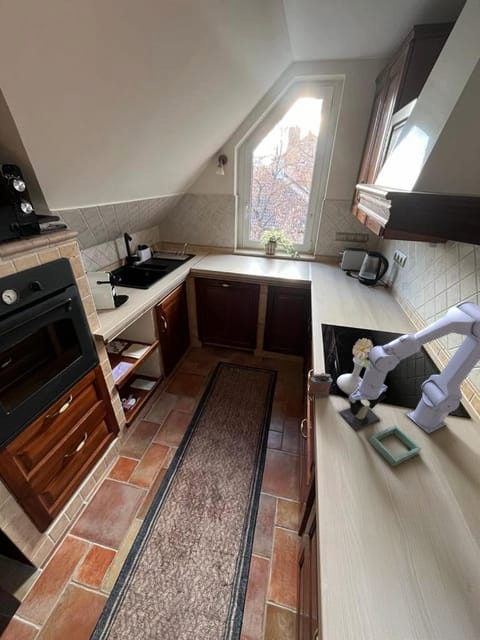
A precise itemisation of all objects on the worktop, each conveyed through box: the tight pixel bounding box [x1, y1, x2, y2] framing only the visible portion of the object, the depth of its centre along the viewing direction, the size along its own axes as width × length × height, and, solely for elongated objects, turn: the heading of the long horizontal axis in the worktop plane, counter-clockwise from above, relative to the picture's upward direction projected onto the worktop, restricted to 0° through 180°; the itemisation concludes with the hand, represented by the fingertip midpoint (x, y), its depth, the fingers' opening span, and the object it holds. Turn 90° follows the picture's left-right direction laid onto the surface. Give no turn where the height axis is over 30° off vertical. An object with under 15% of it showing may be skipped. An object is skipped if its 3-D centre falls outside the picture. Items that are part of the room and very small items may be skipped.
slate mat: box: [339, 407, 381, 431], centre depth 89 cm, size 11×8×1 cm
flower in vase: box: [336, 337, 374, 395], centre depth 94 cm, size 13×11×25 cm
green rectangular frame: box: [369, 425, 422, 467], centre depth 79 cm, size 11×9×2 cm
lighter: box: [307, 372, 333, 398], centre depth 95 cm, size 8×3×10 cm, turn 92°
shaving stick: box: [356, 400, 370, 419], centre depth 87 cm, size 3×3×6 cm
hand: (361, 410), depth 88 cm, fingers open, 7 cm apart
